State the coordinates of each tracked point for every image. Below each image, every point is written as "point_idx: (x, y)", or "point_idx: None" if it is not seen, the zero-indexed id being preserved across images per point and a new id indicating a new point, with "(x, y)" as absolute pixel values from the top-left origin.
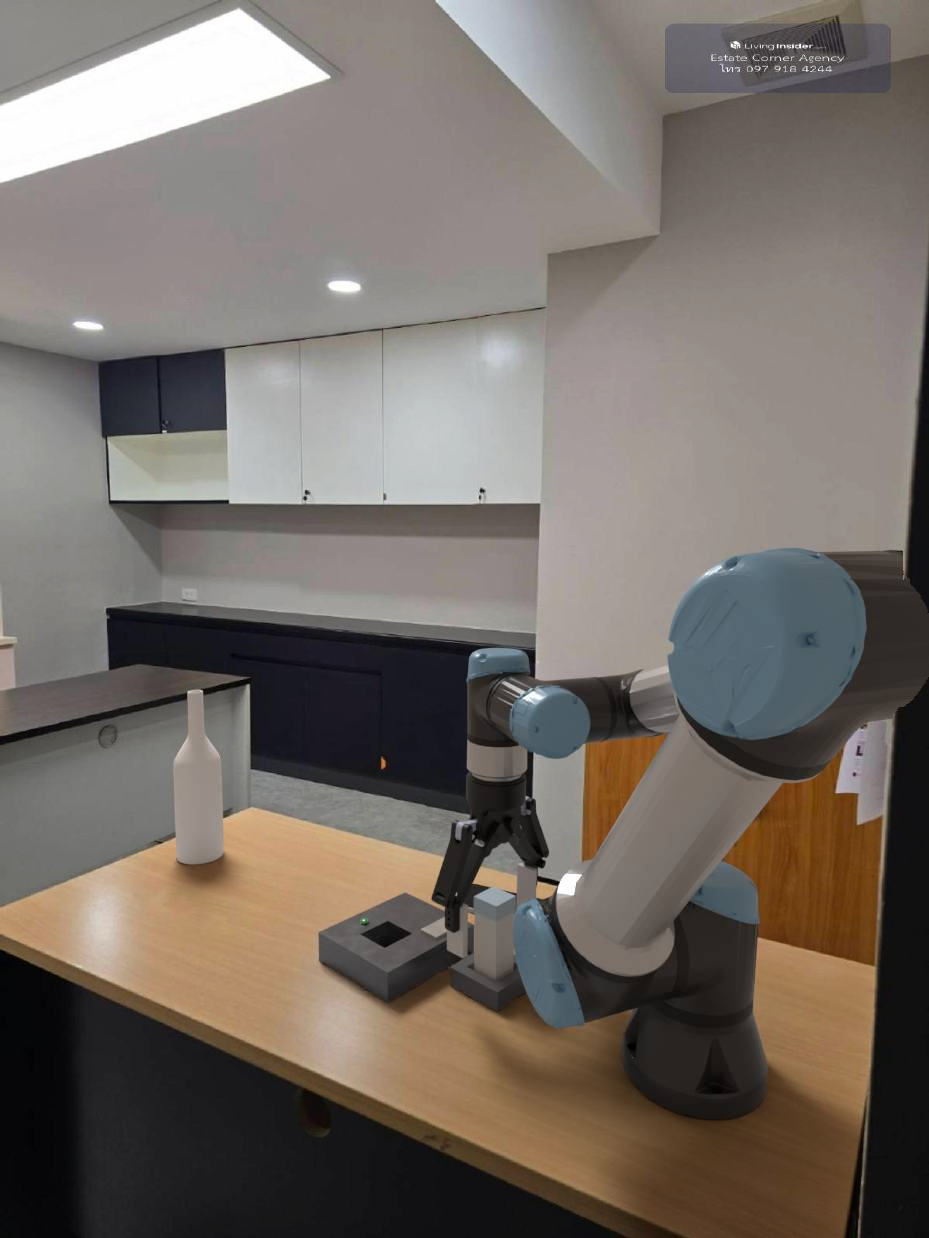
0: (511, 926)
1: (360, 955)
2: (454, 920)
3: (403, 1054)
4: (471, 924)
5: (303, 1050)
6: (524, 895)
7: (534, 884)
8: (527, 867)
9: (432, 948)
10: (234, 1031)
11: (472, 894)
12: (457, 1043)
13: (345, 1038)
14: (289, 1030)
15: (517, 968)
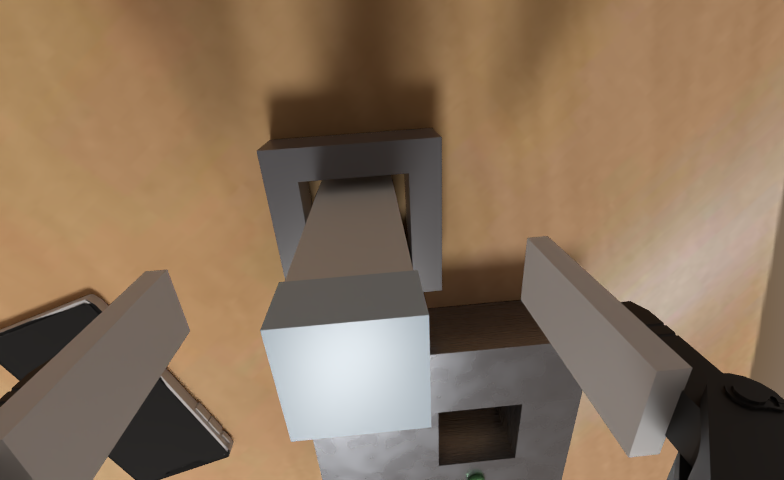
0: (313, 250)
1: (574, 409)
2: (672, 337)
3: (671, 160)
4: None
5: (742, 283)
6: (141, 350)
7: (64, 362)
8: (20, 478)
9: (449, 351)
10: (746, 375)
11: (170, 457)
12: (582, 107)
13: (683, 265)
14: (708, 334)
15: (315, 179)
